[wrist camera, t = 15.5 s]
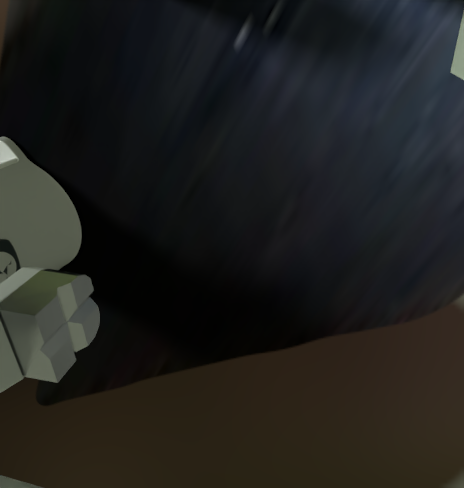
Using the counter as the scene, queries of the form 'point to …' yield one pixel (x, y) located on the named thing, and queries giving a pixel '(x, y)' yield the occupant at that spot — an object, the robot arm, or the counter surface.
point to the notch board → (459, 54)
